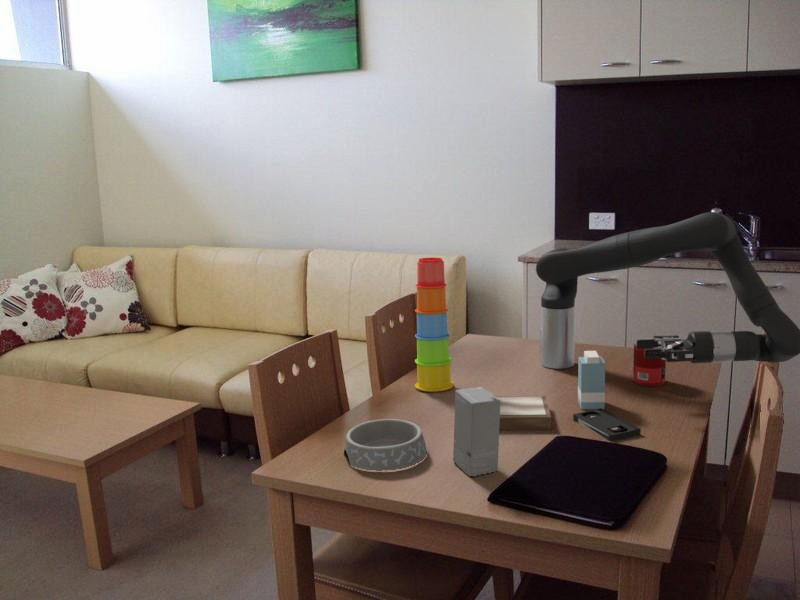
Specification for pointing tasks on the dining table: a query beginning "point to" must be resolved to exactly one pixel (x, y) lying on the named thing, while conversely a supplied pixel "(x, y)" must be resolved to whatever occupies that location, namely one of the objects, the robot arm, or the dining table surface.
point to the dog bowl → (385, 445)
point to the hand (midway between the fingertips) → (640, 349)
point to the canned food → (648, 368)
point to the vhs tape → (606, 424)
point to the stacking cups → (432, 327)
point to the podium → (524, 413)
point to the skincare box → (476, 431)
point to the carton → (591, 381)
